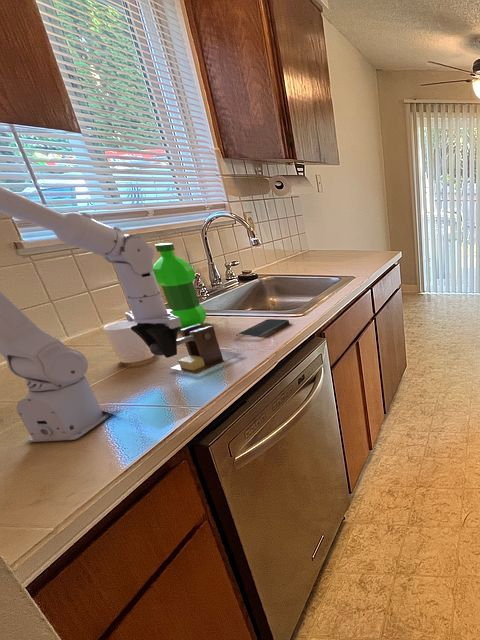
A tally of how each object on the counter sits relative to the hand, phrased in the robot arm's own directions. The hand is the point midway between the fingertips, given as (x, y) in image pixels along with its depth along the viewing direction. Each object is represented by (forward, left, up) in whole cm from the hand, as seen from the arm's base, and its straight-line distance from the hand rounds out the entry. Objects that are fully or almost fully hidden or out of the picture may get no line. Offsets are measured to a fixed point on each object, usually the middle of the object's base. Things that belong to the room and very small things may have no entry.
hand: (166, 354), depth 88 cm
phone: (+31, -7, -6) cm, 33 cm away
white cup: (+11, +16, -6) cm, 20 cm away
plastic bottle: (+38, +19, -6) cm, 43 cm away
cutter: (+3, -1, 0) cm, 4 cm away
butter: (+4, -2, -5) cm, 7 cm away
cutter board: (+7, -3, -6) cm, 10 cm away
